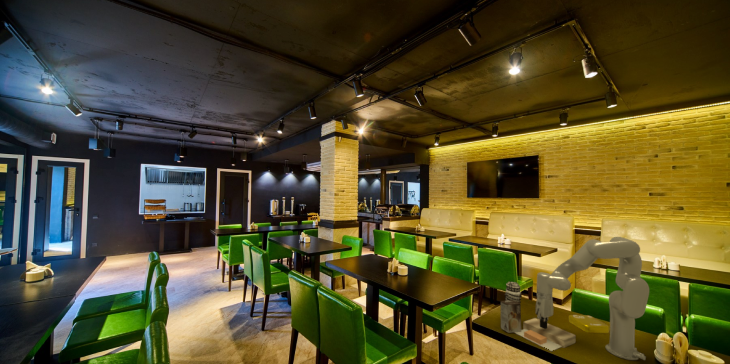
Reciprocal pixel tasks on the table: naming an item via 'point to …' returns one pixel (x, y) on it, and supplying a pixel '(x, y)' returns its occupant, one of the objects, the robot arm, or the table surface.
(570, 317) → the element tile
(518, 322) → the coffee box
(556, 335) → the beige brown rectangular block
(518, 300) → the decorative candle
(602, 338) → the table surface
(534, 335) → the orange rectangular block
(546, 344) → the mat
